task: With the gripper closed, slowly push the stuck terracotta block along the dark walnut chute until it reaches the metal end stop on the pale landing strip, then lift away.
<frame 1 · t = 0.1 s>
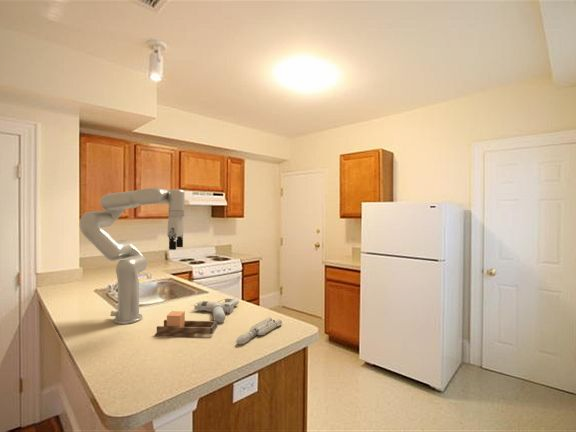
hand: (176, 248, 154), 37 cm above the countertop, tool pointing down, fingers open, 9 cm apart
gun: (209, 313, 168), on the countertop
block: (175, 321, 141), point 5 cm above the countertop, slide at 0.0 cm
rocket model: (257, 335, 140), on the countertop
chute: (187, 331, 141), on the countertop
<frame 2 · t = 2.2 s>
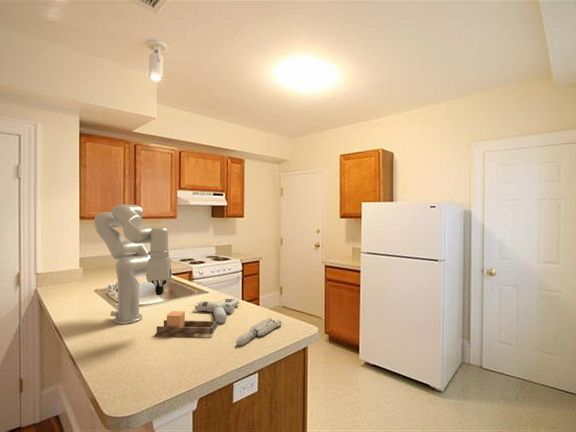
hand: (159, 294, 141), 17 cm above the countertop, tool pointing down, fingers closed
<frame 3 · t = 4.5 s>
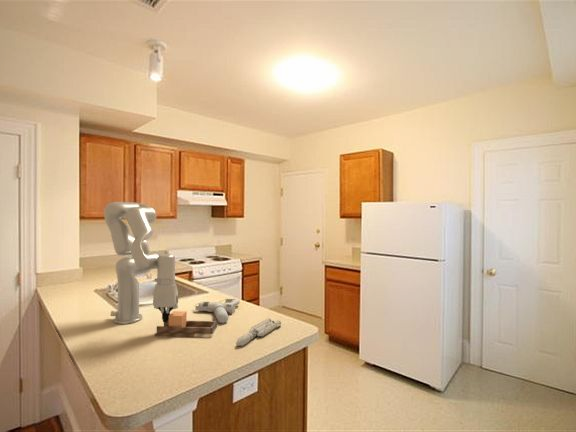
hand: (165, 320, 141), 5 cm above the countertop, tool pointing down, fingers closed
block: (177, 321, 141), point 5 cm above the countertop, slide at 0.9 cm, touching gripper
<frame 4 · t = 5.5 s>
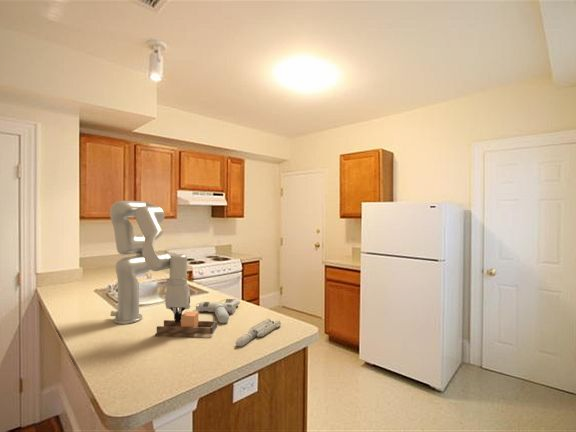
hand: (178, 321, 141), 5 cm above the countertop, tool pointing down, fingers closed
block: (189, 321, 141), point 5 cm above the countertop, slide at 6.5 cm, touching gripper
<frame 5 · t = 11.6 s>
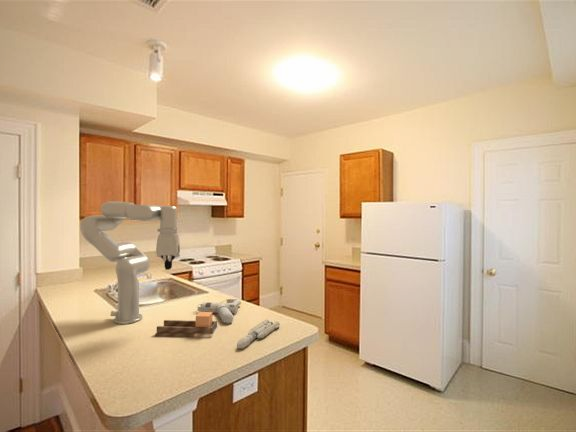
hand: (168, 269, 149), 27 cm above the countertop, tool pointing down, fingers closed
gun: (213, 314, 167), on the countertop
block: (204, 321, 141), point 5 cm above the countertop, slide at 13.0 cm
rocket model: (256, 338, 137), on the countertop
at the end: block slide at 13.0 cm; gun moved 3.4 cm from its start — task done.
